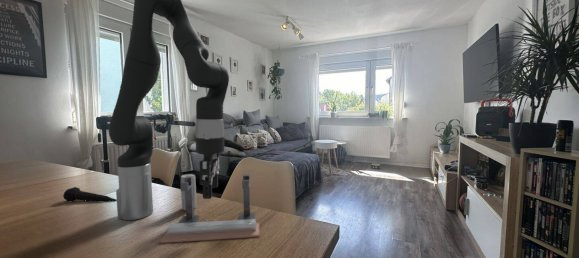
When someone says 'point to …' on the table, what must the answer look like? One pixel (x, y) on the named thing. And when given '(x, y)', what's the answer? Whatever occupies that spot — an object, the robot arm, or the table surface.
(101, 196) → the microphone
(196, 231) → the steel rail
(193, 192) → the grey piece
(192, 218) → the hook standards
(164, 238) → the felt mat
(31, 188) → the table surface
